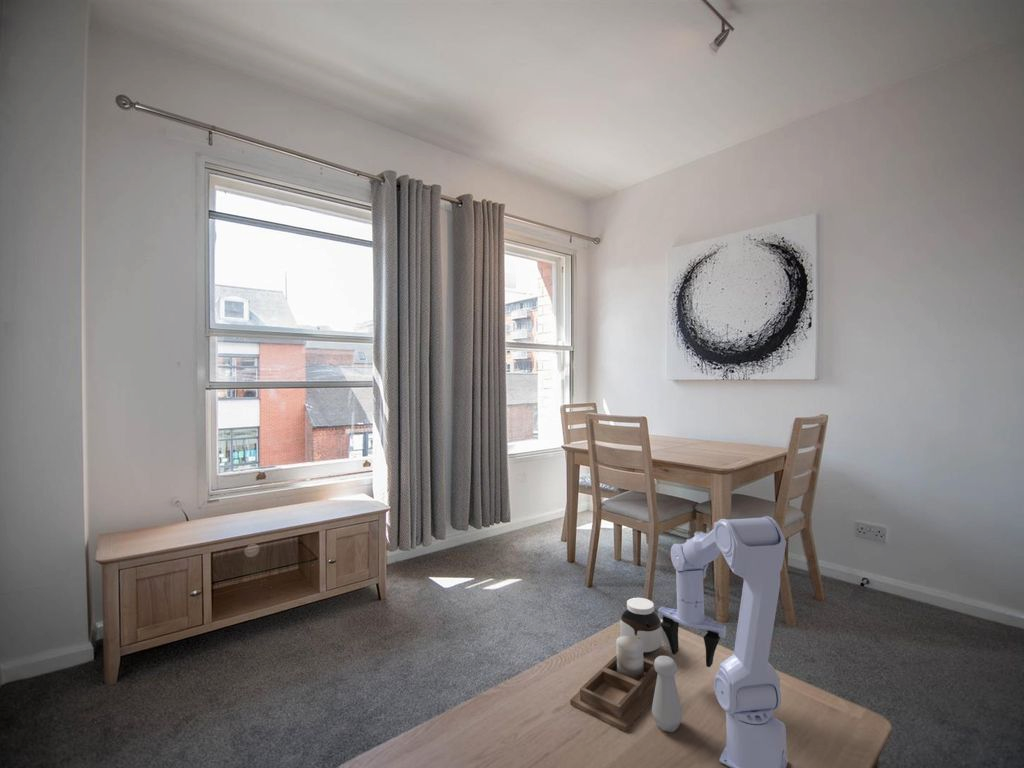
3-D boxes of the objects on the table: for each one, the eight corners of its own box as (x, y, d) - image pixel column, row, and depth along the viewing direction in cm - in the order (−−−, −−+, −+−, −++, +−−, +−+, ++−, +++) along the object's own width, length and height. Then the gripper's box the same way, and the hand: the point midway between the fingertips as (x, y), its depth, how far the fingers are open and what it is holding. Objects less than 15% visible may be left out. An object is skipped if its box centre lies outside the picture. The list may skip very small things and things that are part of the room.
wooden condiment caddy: (668, 680, 108) (667, 641, 108) (625, 732, 92) (624, 686, 92) (617, 660, 116) (616, 623, 116) (570, 704, 100) (569, 662, 101)
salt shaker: (684, 737, 90) (682, 669, 90) (653, 733, 91) (651, 666, 92) (679, 716, 96) (678, 652, 96) (650, 713, 97) (649, 650, 97)
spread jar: (616, 646, 123) (615, 601, 123) (641, 630, 130) (640, 588, 130) (657, 665, 114) (655, 617, 114) (681, 648, 121) (679, 602, 121)
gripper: (729, 600, 103) (731, 662, 103) (665, 583, 113) (667, 640, 113) (719, 612, 98) (721, 677, 98) (653, 593, 107) (655, 653, 107)
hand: (691, 658), depth 105 cm, fingers open, 7 cm apart
